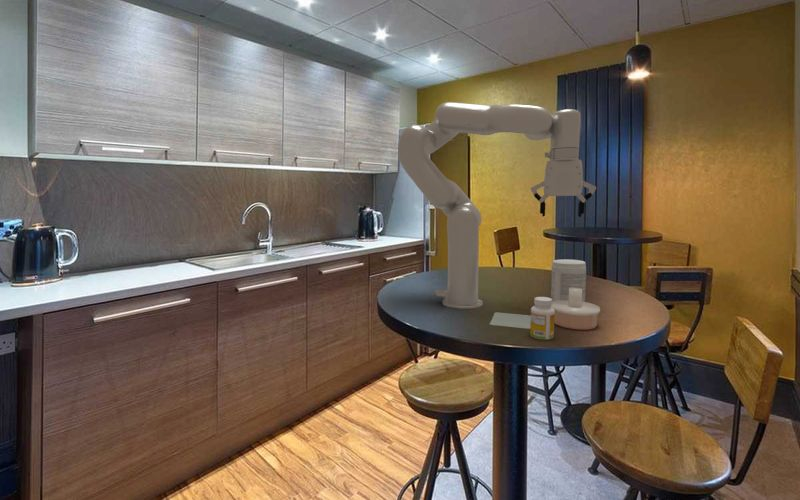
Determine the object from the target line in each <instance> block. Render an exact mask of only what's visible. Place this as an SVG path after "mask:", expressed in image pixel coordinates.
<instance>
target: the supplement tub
mask: <svg viewBox="0 0 800 500" xmlns="http://www.w3.org/2000/svg"><path fill="white" fill-rule="evenodd" d="M586 265H587V263H586V261H584V260H579V259H566V258H565V259H554V260H552V265H551V284H550V285H551V290H550V291H551V293H550V298H551V299H552V302H554V301H559V300H569V288H581V289H582V302H586V287H587V286H586V285H587V282H586V281H587V266H586Z"/></svg>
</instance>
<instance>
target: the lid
mask: <svg viewBox="0 0 800 500" xmlns="http://www.w3.org/2000/svg"><path fill="white" fill-rule="evenodd" d="M551 307H552V308H553V309H554V310H555V311H557V312H561V313H565V314H571V315H582V316H587V315H596V314H600V312H601V307H600V306H598V305H596V304H594V303H591V302H587V301H585V302H582V289H581V288H569V300H559V301H554V302H552V305H551Z"/></svg>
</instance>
